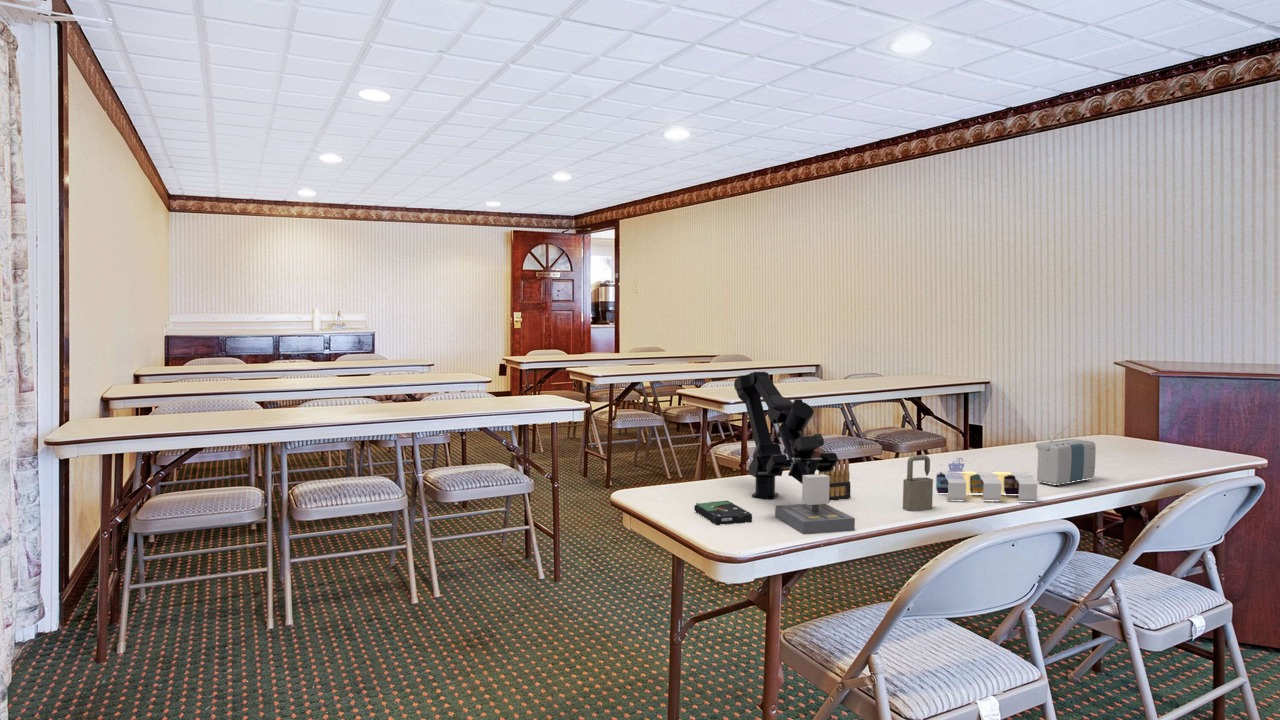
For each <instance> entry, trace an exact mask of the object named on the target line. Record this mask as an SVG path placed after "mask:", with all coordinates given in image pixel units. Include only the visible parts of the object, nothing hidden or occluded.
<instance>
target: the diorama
mask: <svg viewBox="0 0 1280 720" xmlns="http://www.w3.org/2000/svg"><path fill="white" fill-rule="evenodd" d="M956 462H958V463H956ZM964 466H965V463H963V457H959V458H958V457H956V460H952V463H948V469H949V470H946V471H945V470H943V471H941V470H940V471H939V472H937V473H936V475H935V492H936V494H937V493H948V495H947V498H946V501H947V500H964V501H965V500H966V499H967V498H966V497H967V495H966V493H983V496H982V499H981V501H982V500H1000V501H1001V500H1002V496H1001V493H1006V494H1019V496H1018V498H1017V501H1035V502H1036V500H1037V499H1038V481H1036V480H1037V479H1034V475H1032V474H1029V473H1027V472H1015V471H1014V472H1010V471H1009V472H1005V471H1004V472H1003V471H965V470H964V471H963V469H964ZM1017 501H1016V502H1017Z"/></svg>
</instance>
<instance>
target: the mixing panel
mask: <svg viewBox="0 0 1280 720" xmlns="http://www.w3.org/2000/svg"><path fill="white" fill-rule="evenodd" d="M774 507H775V508H774V510H775V511H774V518H776V519H778V520H779V519H780V520H779V521H781V522H783V523H785V524H786V525H788V526H789V527H791V528H792V529H794V530H796V531H797V532H799V533H801V534H802V535H809V534H823V533H834V532H835V533H836V532H849V531H855V530H856V529H855V526H856V525H855V523H856V522H855V521H856V518H855V517H853V516H852V515H850V514H847V513H845V512H843V511H841V510H838V509H837V508H834V506H831V505H829V504H819V512H813V511H812V505H807V504H805V503H800V504H799V503H796V504H782V505H781V504H780V505H775V506H774ZM821 532H822V533H821Z"/></svg>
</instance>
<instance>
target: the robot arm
mask: <svg viewBox="0 0 1280 720" xmlns="http://www.w3.org/2000/svg"><path fill="white" fill-rule="evenodd" d="M733 386H734V390H735V391H736V395H737V397H738V399H739V400H741V401H742V402H743V403H744V404H745V407H746V411H747V415H748V420H749V423H750V424H749V425H750V428H751V431H752V432H751V433H752V434H753V435H752V436H753V439H754V443H755V448H754V450H753V453H752V460H751V461H750V464H749V466H748V474H749V475H750V476H752V477H754V478H755V484H754V485H755V492H754V493H752V494H751V497H753V498H760V499H770V500H771V499H772V500H774V498H776V497H777V496H779V492H776V477H782V476H783V471H784V469H787V468H788V469H789V472H788V474H787V475H788V477H792V478H793V479H795V480H797V481H798V482H799V483H800V484H801V485H802V481H803V475H816V474H815V473H816V472H817V471H818V473H819V472H830V471H832V469H833V468H834V469H835V465H836V463H837V462H839V460H840V459H839V457H838V455H837V454H836V453H835V452H834V451H832V452H831V451H829V452H827V451H826V452H821V453H820V455H819V457H812V456H814V455H815V453H816V452H815V450H817V449H820V447H823V446H824V444H825V440H824V437H823V435H822V433H815V434H813V435H803V432H802V431H804V430H805V429H806V428H807V426H808V424H809V422H810V421H811V419H812V417H813V415H814V409H813V407H811V406H810V405H809V404H808V403H806V402H803V399H802V398H798V399H797V398H796V399H794V401H792V400H791V399H789V398H786V397H785V396H783V395H782V394H781V392H780V391H779V390H778V389H777V387H776V385H775V384H774V382H773V381H772V379H771V378H770V374H769V373H768V372H767V371H753V372H750V373H748V374H744V375H738V376H737V378H735V379H734V384H733ZM761 398H762V400H763V401H764V403H765V405H766V406H767V412H766V414H767V416H768V420H769V421H770V422H771V423H772V424H776V425H779V424H780V425H779V428H778V429H777V430H778V431H777V433H776V437H777V438H781V441H782V444H783V446H784V449H783V453H782V450H781V449H782V448H781V445H780V444H779V443H777V442H776V443H775V442H774V441H772V437H771V434H770V430H769V426H768V422H767V419H766V415H765V411H764V406H763V403H762V400H761Z"/></svg>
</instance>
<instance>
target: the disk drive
mask: <svg viewBox="0 0 1280 720" xmlns="http://www.w3.org/2000/svg"><path fill="white" fill-rule="evenodd" d="M693 508H694V510H695V511H696V512H695V511H694V512H695V513H696V514H698V513H699V514H698V515H700V514H701V515H702V516H701V515H700V516H701V517H703V516H704V517H705V519H706V518H707V519H706V520H707V521H709V520H710V521H709V522H711V523H712V522H713V523H712V524H714V523H715V524H716V525H715V524H714V525H715V526H722V524H725V525H732V524H733V525H734V523H737V524H745V522H747V523H752V522H753V513H751V512H750V511H747V510H746V509H744V508H742V507H740V506H739V505H736V504H734V503H733V502H731V501H729V500H719V501H709V502H702V503H701V502H695V505H693ZM704 517H703V518H704ZM720 524H721V525H720Z"/></svg>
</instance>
